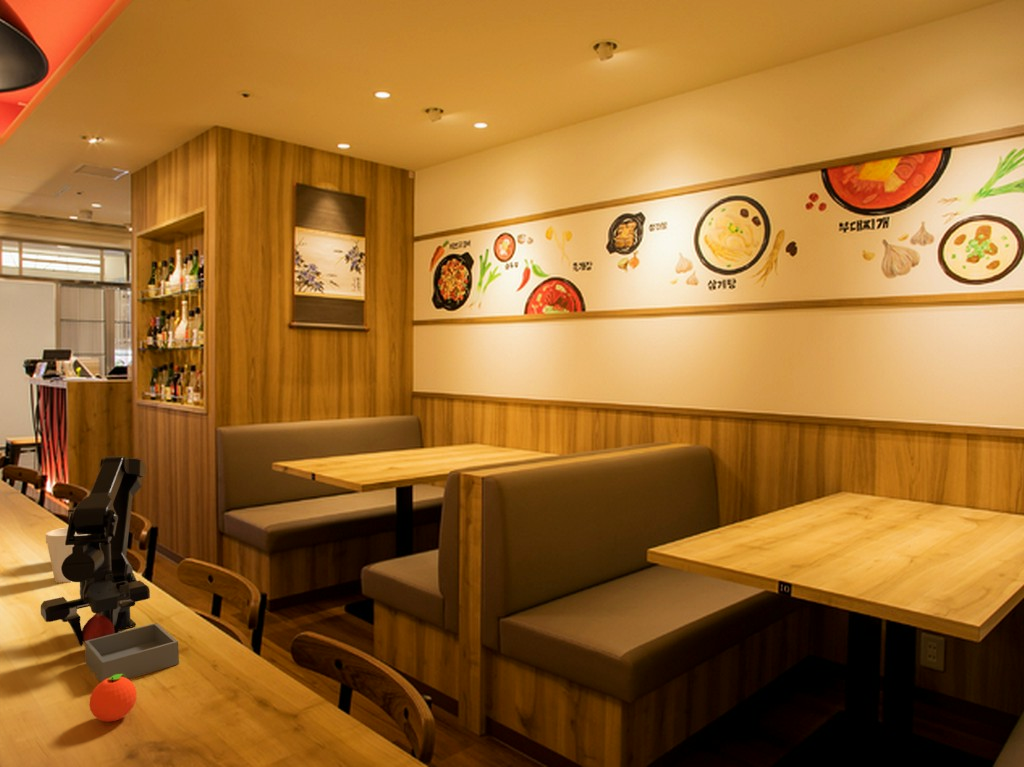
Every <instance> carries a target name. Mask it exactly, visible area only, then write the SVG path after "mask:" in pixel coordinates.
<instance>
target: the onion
mask: <svg viewBox="0 0 1024 767" xmlns="http://www.w3.org/2000/svg"><path fill="white" fill-rule="evenodd" d="M81 630H82V636H83V644H85V641H88V640H91V639H95V638H99V637H103V636H107V635H111V634H114V631H115V629H114V625H113V623H112V622H111V620H110V619H108V618H107V617H105V616H102V615H101V613H94V615H92V617H90V618H89V619H88V620H87V621H86V623H85V624H84V626H83V627H82V628H81Z"/></svg>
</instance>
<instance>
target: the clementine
mask: <svg viewBox="0 0 1024 767" xmlns="http://www.w3.org/2000/svg"><path fill="white" fill-rule="evenodd" d="M121 675H122V676H124V677H121ZM136 688H137V687H136V686H135V685H134V683H133V682H132V681H131V679H127V678H126V676H125V674H116V675H113V676H112V677H110V678H107V679H105V680H104V681H102V682H101V683H100V682H99V683H98V684H97V685H96V686H95V688H94V689H93V690H92V692H91V695H90V697H89V709H90V712H91V713H92V715H93V716H94V717H95V718H96V719H97V720H99V721H103V722H106V723H107V722H115V721H118V720H121V719H122V718H124V717H126V715H128V714H129V713H130V712H131V710H132V709H133V708H134V706H135V704H136V702H137V689H136Z"/></svg>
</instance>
